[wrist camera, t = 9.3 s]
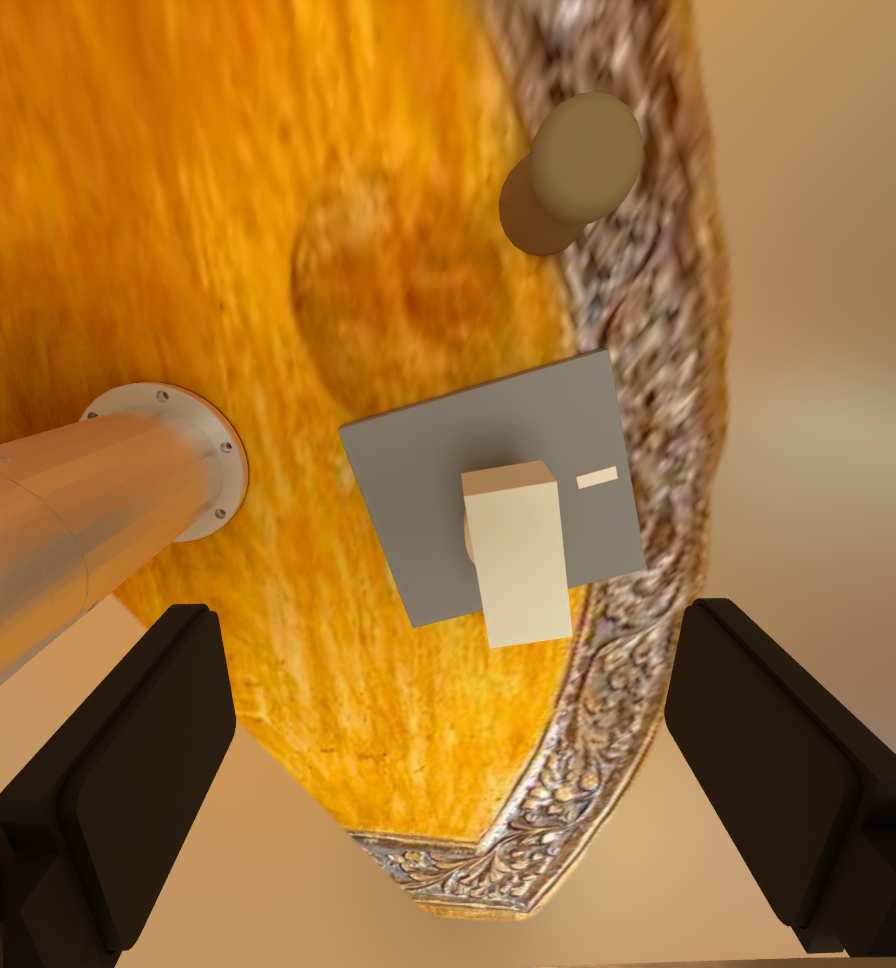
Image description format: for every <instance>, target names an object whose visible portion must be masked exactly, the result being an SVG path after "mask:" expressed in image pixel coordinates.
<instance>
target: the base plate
mask: <svg viewBox="0 0 896 968" xmlns="http://www.w3.org/2000/svg"><path fill="white" fill-rule="evenodd" d="M338 432H339V435H340V438H341V440H342V443H343V445H344V448H345V451H346V453H347V456H348V459H349V461H350V464H351V467H352V469H353V472H354V474H355V477H356V480H357V482H358V485H359V488H360V490H361V493H362V496H363V498H364V501H365V503H366V506H367V509H368V511H369V514H370V517H371V519H372V522H373V524H374V527H375V530H376V532H377V535H378V538H379V540H380V543H381V546H382V548H383V551H384V553H385V556H386V559H387V561H388V564H389V567H390V569H391V572H392V575H393V577H394V580H395V582H396V585H397V588H398V590H399V593H400V596H401V598H402V601H403V603H404V606H405V609H406V611H407V614H408V617H409V619H410V622H411V625H412V627H413V628H415V627H419V626H423V625H427V624H431V623H435V622H439V621H443V620H447V619H451V618H455V617H459V616H463V615H467V614H471V613H474V612H478V611H482V610H483V605H482V600H481V594H480V588H479V582H478V576H477V571H476V566H475V564H474V563H473V562H472V560H471V559H470V557H469V555H468V552H467V549H466V543H465V533H464V522H463V521H464V512H465V509H466V507H465V501H464V495H463V486H462V477H461V473H466V472H472V471H478V470H484V469H490V468H496V467H502V466H508V465H514V464H520V463H526V462H532V461H538V460H542V461H543V462H544V463H545V465H546V466H547V468H548V469H549V471H550V472H551V474H552V475H553V477H554V478H555V479H556V481H557V488H558V498H559V508H560V518H561V528H562V538H563V548H564V558H565V568H566V577H567V587H568V589H569V588H573V587H577V586H581V585H585V584H589V583H592V582H596V581H600V580H604V579H608V578H612V577H616V576H620V575H624V574H628V573H632V572H636V571H640V570H644V569H646V564H645V558H644V552H643V546H642V541H641V535H640V529H639V523H638V518H637V512H636V506H635V500H634V494H633V489H632V483H631V477H630V471H629V466H628V460H627V454H626V448H625V443H624V437H623V431H622V425H621V419H620V414H619V408H618V402H617V396H616V391H615V385H614V379H613V373H612V367H611V362H610V356H609V350H608V349H605V348H600V349H596V350H593V351H589V352H586V353H583V354H579V355H576V356H573V357H569V358H566V359H563V360H559V361H556V362H552V363H549V364H546V365H542V366H539V367H536V368H532V369H529V370H525V371H522V372H519V373H515V374H512V375H509V376H505V377H502V378H499V379H495V380H492V381H488V382H485V383H482V384H478V385H475V386H472V387H468V388H465V389H462V390H458V391H455V392H451V393H448V394H445V395H441V396H438V397H435V398H431V399H428V400H424V401H421V402H418V403H414V404H411V405H408V406H404V407H401V408H398V409H394V410H391V411H387V412H384V413H381V414H377V415H374V416H371V417H367V418H364V419H361V420H357V421H354V422H350V423H347V424H344V425H341V426H340V427H339V428H338Z"/></svg>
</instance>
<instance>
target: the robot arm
mask: <svg viewBox="0 0 896 968" xmlns="http://www.w3.org/2000/svg"><path fill="white" fill-rule="evenodd" d="M166 393H167V394H168V397H169V398H168V397H167V396H166ZM228 443H230V444H231V446H232V448H231V447H230V446H229V445H228ZM247 485H248V464H247V459H246V454H245V451H244V449H243V446H242V444H241V441H240V439H239V437H238V435H237V434H236V432H235V430H234V429H233V427H232V426H231V424H230V423H229V422H228V421H227V419H226V418H225V417H224V416H223V415H222V414H221V413H220V412H219V411H218V410H217V409H216V408H215V407H213V406H212V405H211V404H210V403H209V402H207V401H206V400H205V399H203V398H201V397H199V396H198V395H196V394H194V393H192V392H191V391H188V390H186V389H183V388H180V387H178V386H175V385H171V384H165V383H160V382H138V383H132V384H126V385H123V386H120V387H117V388H113V389H110V390H109V391H107V392H105V393H104V394H102V395H100V396H99V397H97V398H96V399H95V400H94V401H93V402H92V403H91V404H90V405H89V406H88V407H87V408H86V410H85V411H84V413H83V414H82V416H81V418H80V419H79V422H76V423H73V424H69V425H66V426H62V427H59V428H56V429H52V430H49V431H45V432H42V433H38V434H35V435H31V436H28V437H24V438H21V439H17V440H14V441H10V442H7V443H3V444H0V686H1V685H2V684H3V683H4V682H5V681H6V680H8V679H9V678H10V677H11V676H12V675H13V674H14V673H16V672H17V671H18V670H19V669H20V668H21V667H22V666H24V665H25V664H26V663H27V662H28V661H29V660H31V659H32V658H33V657H34V656H35V655H36V654H37V653H39V652H40V651H41V650H42V649H44V648H45V647H46V646H47V645H48V644H49V643H51V642H52V641H53V640H54V639H55V638H57V637H58V636H59V635H60V634H61V633H63V632H64V631H65V630H66V629H67V628H69V627H70V626H71V625H72V624H74V623H75V622H76V621H77V620H79V619H80V618H81V617H82V616H84V615H85V614H86V613H87V612H88V611H90V610H91V609H92V608H93V607H94V606H95V605H97V604H98V603H99V602H100V601H102V600H103V599H104V598H105V597H106V596H108V595H109V594H110V593H111V592H112V591H114V590H115V589H116V588H117V587H118V586H120V585H121V584H122V583H123V582H124V581H126V580H127V579H128V578H129V577H130V576H132V575H133V574H134V573H135V572H136V571H138V570H139V569H140V568H141V567H142V566H144V565H145V564H146V563H147V562H148V561H150V560H151V559H152V558H153V557H154V556H156V555H157V554H158V553H159V552H160V551H162V550H163V549H164V548H165V547H167V546H168V545H169V544H170V543H171V542H187V541H193V540H198V539H200V538H203V537H206V536H208V535H211V534H212V533H214V532H215V531H217V530H218V529H220V528H221V527H223V526H224V525H225V524H226V523H227V522H228V521H229V520H230V519H231V518H232V517H233V516H234V514H235V513H236V512H237V511H238V509H239V508H240V506H241V504H242V502H243V499H244V497H245V494H246V490H247ZM223 510H224V511H225V512H224V511H223ZM664 716H665V721H666V725H667V728H668V730H669V732H670V733H671V735H672V737H673V739H674V740H675V742H676V744H677V745H678V747H679V749H680V751H681V752H682V754H683V756H684V758H685V759H686V761H687V763H688V765H689V766H690V768H691V770H692V771H693V773H694V775H695V777H696V778H697V780H698V781H699V783H700V785H701V787H702V789H703V790H704V792H705V794H706V796H707V797H708V799H709V801H710V802H711V804H712V806H713V807H714V809H715V811H716V813H717V815H718V816H719V818H720V820H721V822H722V823H723V825H724V827H725V828H726V830H727V832H728V834H729V835H730V837H731V839H732V840H733V842H734V844H735V846H736V847H737V849H738V851H739V853H740V854H741V856H742V858H743V859H744V861H745V863H746V865H747V866H748V868H749V870H750V871H751V873H752V875H753V877H754V879H755V880H756V882H757V884H758V885H759V887H760V889H761V891H762V892H763V894H764V896H765V897H766V899H767V901H768V902H769V904H770V906H771V908H772V910H773V911H774V913H775V914H776V916H777V917H778V919H779V920H780V921H781V922H782V923H783V924H785V925H786V926H791V928H792V929H793V931H794V933H795V934H796V936H797V938H798V939H799V941H800V942H801V944H802V946H803V947H804V949H805V951H806V953H807V954H808V953H809V954H810V953H836V952H843V950H844V949H845V950H846V952H847V953H848V955H849V956H850V958H791V959H759V960H730V961H729V960H728V961H700V962H699V961H697V962H668V963H636V964H609V965H608V964H607V965H583V966H581V965H580V966H557V967H556V966H555V967H529V968H896V754H895V753H894V752H893V751H891V750H890V749H889V748H888V747H887V746H886V745H885V744H884V743H883V742H882V741H881V740H880V739H879V738H878V737H876V736H875V735H874V734H873V733H872V732H871V731H870V730H869V729H868V728H867V727H866V726H865V725H864V724H863V723H862V722H860V721H859V720H858V719H857V718H856V717H855V716H854V715H853V714H852V713H851V712H850V711H849V710H847V708H846V707H844V706H843V705H842V704H841V703H840V702H839V701H838V700H837V699H836V698H835V697H834V696H833V695H831V694H830V693H829V692H828V691H827V690H826V689H825V688H824V687H823V686H822V685H821V684H820V683H819V682H818V681H817V680H816V679H815V678H813V677H812V676H811V675H810V674H809V673H808V672H807V671H806V670H805V669H804V668H803V667H802V666H800V665H799V664H798V663H797V662H796V661H795V660H794V659H793V658H792V657H791V656H790V655H789V654H788V653H787V652H786V651H785V650H784V649H782V648H781V647H780V646H779V645H778V644H777V643H776V642H775V641H774V640H773V639H772V638H771V637H770V636H769V635H767V634H766V633H765V632H764V631H763V630H762V629H761V628H760V627H759V626H758V625H757V624H756V623H755V622H754V621H753V620H751V619H750V618H749V617H748V616H747V615H746V614H745V613H744V612H743V611H742V610H741V609H740V608H738V606H737V605H735V604H734V603H733V602H732V601H731V600H729V599H726V598H699V599H696V600H695V601H694V602H693V604H692V606H688V607H687V608H686V609H685V612H684V616H683V621H682V626H681V631H680V636H679V640H678V645H677V650H676V655H675V660H674V665H673V670H672V675H671V680H670V685H669V690H668V694H667V699H666V704H665V710H664ZM235 728H236V715H235V709H234V704H233V698H232V692H231V686H230V681H229V675H228V669H227V664H226V658H225V652H224V647H223V641H222V635H221V630H220V624H219V618H218V615H217V613H216V612H214V611H210V610H209V608H208V606H207V605H205V604H175V605H172V606H170V607H169V608H168V609H167V610H166V611H165V612H164V614H163V615H162V616H161V617H160V618H159V619H158V620H157V621H156V622H155V623H154V625H153V626H152V627H151V628H150V629H149V630H148V631H147V632H146V633H145V634H144V636H143V637H142V638H141V639H140V640H139V641H138V642H137V643H136V645H135V646H134V647H133V648H132V649H131V650H130V651H129V652H128V653H127V654H126V655H125V657H124V658H123V659H122V660H121V661H120V662H119V663H118V664H117V665H116V666H115V668H114V669H113V670H112V671H111V672H110V673H109V674H108V675H107V676H106V677H105V679H104V680H103V681H102V682H101V683H100V684H99V685H98V686H97V687H96V689H95V690H94V691H93V692H92V693H91V694H90V695H89V696H88V697H87V698H86V699H85V701H84V702H83V703H82V704H81V705H80V706H79V707H78V708H77V709H76V710H75V712H74V713H73V714H72V715H71V716H70V717H69V718H68V719H67V720H66V722H65V723H64V724H63V725H62V726H61V727H60V728H59V729H58V730H57V731H56V733H55V734H54V735H53V736H52V737H51V738H50V739H49V740H48V741H47V742H46V744H45V745H44V746H43V747H42V748H41V749H40V750H39V751H38V752H37V753H36V754H35V756H34V757H33V758H32V759H31V760H30V761H29V762H28V763H27V764H26V765H25V767H24V768H23V769H22V770H21V771H20V772H19V773H18V774H17V775H16V776H15V778H14V779H13V780H12V781H11V782H10V783H9V784H8V785H7V786H6V788H5V789H4V790H3V791H2V792H1V793H0V968H114V967H115V965H116V963H117V961H118V959H119V957H120V955H121V952H122V951H125V950H129V949H131V948H132V947H133V945H134V944H135V943H136V941H137V940H138V938H139V936H140V934H141V932H142V930H143V928H144V926H145V924H146V921H147V919H148V917H149V915H150V913H151V911H152V909H153V907H154V904H155V902H156V900H157V898H158V896H159V894H160V892H161V890H162V888H163V885H164V883H165V881H166V879H167V877H168V874H169V873H170V871H171V869H172V866H173V864H174V862H175V860H176V858H177V856H178V853H179V851H180V849H181V847H182V845H183V843H184V841H185V839H186V837H187V834H188V832H189V830H190V828H191V826H192V824H193V822H194V820H195V818H196V815H197V813H198V811H199V809H200V807H201V805H202V803H203V801H204V799H205V797H206V794H207V792H208V790H209V788H210V786H211V784H212V782H213V780H214V777H215V775H216V773H217V771H218V769H219V767H220V765H221V763H222V761H223V758H224V756H225V754H226V752H227V750H228V748H229V746H230V743H231V741H232V739H233V736H234V733H235Z"/></svg>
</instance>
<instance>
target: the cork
mask: <svg viewBox="0 0 896 968" xmlns="http://www.w3.org/2000/svg"><path fill="white" fill-rule="evenodd" d="M641 162H642V136H641V133H640V129H639V125H638V122H637V120H636V118H635V117H634V115H633V114H632V112H631V111H630V109H629V108H628V106H627V105H625V104H624V103H623V102H621V101H620V100H619V99H617V98H616V97H615V96H613V95H609V94H605V93H601V92H597V91H596V92H588V93H581V94H578V95H576V96H574V97H572V98H570V99H568V100H566V101H564V102H563V103H561V104H559V105H558V106H557V107H556V108H555V109H554V110H553V111H552V112H551V113H550V114H549V115H548V116H547V117H546V118H545V119H544V121H543V123H542V125H541V127H540V129H539V130H538V132H537V134H536V136H535V138H534V140H533V143H532V147H531V152H530V154H529V155H528V156H526V157H525V158H524V159H523V160H522V161H521V162H520V163H519V164H518V165H517V166H516V167H515V168H514V169H513V170H512V171H511V172H510V173H509V175H508V177H507V179H506V181H505V183H504V185H503V187H502V191H501V196H500V201H499V212H500V221H501V223H502V226H503V229H504V231H505V234H506V235H507V237H508V238H509V239H510V240H511V242H512V243H513V244H514V246H516V247H518V248H519V249H521V250H522V251H524V252H525V253H528V254H532V255H537V256H545V255H553V254H556V253H558V252H560V251H562V250H564V249H566V248H567V247H568V246H569V245H570V244H571V243H573V242H574V241H575V240H576V239H577V238H578V237H579V235H580V234H581V232H582V231H583V229H584V228H585V227H586V225H587V224H588V223H592V222H594V221H596V220H598V219H600V218H602V217H604V216H606V215H608V214H610V213H611V212H612V211H613V210H615V209H616V208H617V207H618V206H619V205H620V204H621V203H622V202H623V201H624V200H625V198H626V197H627V195H628V193H629V192H630V190H631V188H632V187H633V185H634V183H635V181H636V179H637V176H638V172H639V169H640V165H641Z"/></svg>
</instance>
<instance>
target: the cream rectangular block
mask: <svg viewBox="0 0 896 968" xmlns="http://www.w3.org/2000/svg"><path fill="white" fill-rule="evenodd" d="M461 477H462V486H463V495H464V501H465V507H466V509H465V512H464V521H463V522H464V533H465V543H466V549H467V552H468V555H469V557H470V559H471V560H472V562H473V563H474V564H475V566H476V571H477V576H478V582H479V588H480V594H481V600H482V605H483V611H484V617H485V623H486V629H487V634H488V640H489V646H490V649H491V648H497V647H504V646H511V645H518V644H524V643H531V642H538V641H545V640H552V639H558V638H565V637H572V627H571V617H570V607H569V597H568V587H567V577H566V568H565V558H564V548H563V538H562V528H561V518H560V508H559V498H558V488H557V481H556V479H555V478H554V477H553V475H552V474H551V472H550V471H549V469H548V468H547V466H546V465H545V463H544V462H543V461H542V460H538V461H532V462H526V463H520V464H514V465H508V466H502V467H496V468H490V469H484V470H478V471H472V472H466V473H461Z"/></svg>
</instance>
